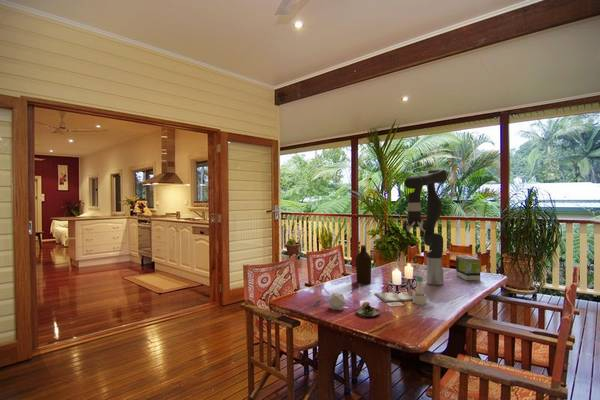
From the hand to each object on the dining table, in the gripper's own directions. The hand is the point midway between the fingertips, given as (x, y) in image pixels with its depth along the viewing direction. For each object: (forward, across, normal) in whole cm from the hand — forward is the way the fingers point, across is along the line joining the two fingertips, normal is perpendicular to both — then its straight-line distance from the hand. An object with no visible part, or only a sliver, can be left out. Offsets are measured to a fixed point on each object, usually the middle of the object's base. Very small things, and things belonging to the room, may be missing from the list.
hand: (414, 237), depth 194 cm
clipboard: (+33, +15, +6) cm, 37 cm away
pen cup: (+33, +7, +18) cm, 38 cm away
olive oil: (+33, +22, -28) cm, 49 cm away
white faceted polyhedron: (+33, +53, +18) cm, 65 cm away
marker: (+32, +7, +18) cm, 38 cm away
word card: (+33, +21, +18) cm, 43 cm away
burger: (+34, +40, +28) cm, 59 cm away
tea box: (+34, -52, -24) cm, 66 cm away
